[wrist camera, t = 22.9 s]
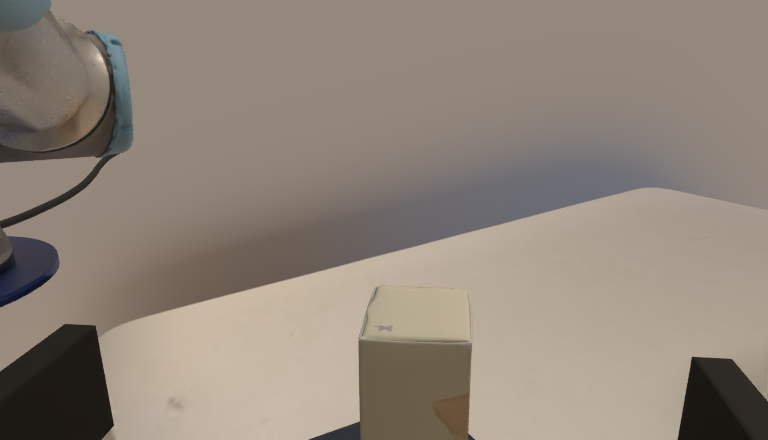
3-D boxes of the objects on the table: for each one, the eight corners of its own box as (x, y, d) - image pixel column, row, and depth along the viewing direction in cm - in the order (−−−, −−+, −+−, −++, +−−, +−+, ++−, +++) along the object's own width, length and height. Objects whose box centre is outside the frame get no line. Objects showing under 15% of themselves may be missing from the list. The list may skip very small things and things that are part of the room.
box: (463, 583, 24) (473, 346, 20) (360, 572, 24) (353, 340, 21) (462, 487, 29) (470, 284, 25) (377, 480, 29) (373, 280, 26)
